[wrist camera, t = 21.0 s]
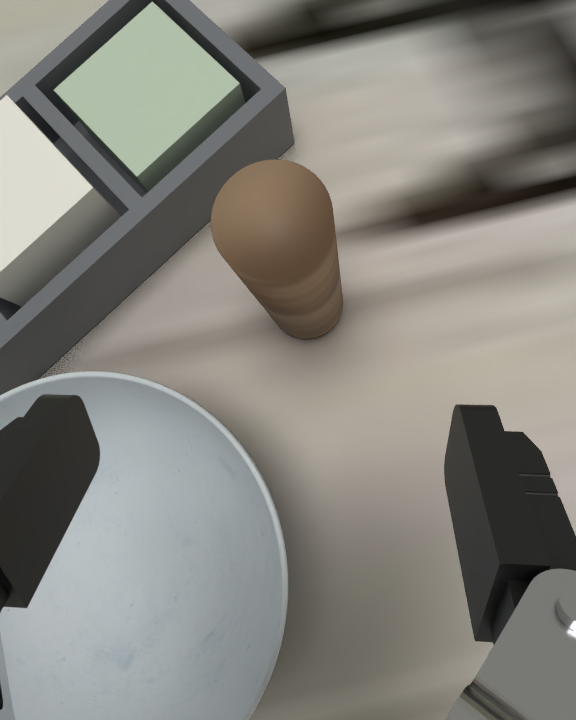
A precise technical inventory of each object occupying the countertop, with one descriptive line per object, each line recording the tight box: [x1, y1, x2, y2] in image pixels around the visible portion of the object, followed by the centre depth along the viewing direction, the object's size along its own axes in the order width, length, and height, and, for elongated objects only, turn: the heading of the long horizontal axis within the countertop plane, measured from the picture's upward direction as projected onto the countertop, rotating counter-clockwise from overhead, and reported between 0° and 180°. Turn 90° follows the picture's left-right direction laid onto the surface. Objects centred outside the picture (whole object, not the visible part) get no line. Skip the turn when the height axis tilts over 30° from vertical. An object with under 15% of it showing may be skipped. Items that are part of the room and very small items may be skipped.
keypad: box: [0, 0, 294, 395], centre depth 27 cm, size 10×26×4 cm, turn 133°
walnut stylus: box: [211, 159, 343, 339], centre depth 21 cm, size 4×4×12 cm
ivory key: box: [0, 95, 121, 307], centre depth 25 cm, size 6×6×4 cm
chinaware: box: [0, 371, 288, 720], centre depth 22 cm, size 15×15×8 cm
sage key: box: [54, 2, 245, 193], centre depth 27 cm, size 6×6×4 cm
